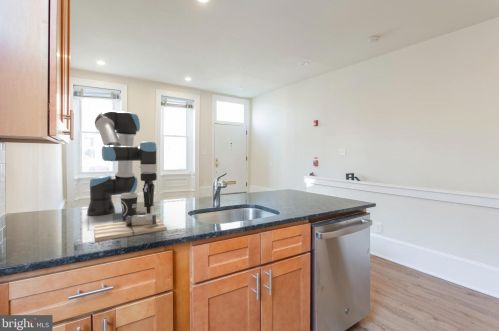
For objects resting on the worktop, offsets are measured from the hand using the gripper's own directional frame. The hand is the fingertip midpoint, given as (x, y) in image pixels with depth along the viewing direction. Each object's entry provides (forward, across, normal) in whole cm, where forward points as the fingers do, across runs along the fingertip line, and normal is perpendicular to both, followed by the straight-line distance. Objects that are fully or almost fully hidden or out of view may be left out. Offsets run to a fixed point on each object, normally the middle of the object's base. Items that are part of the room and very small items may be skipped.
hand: (149, 219), depth 123 cm
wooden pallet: (+5, +1, -9) cm, 10 cm away
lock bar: (+3, -2, -4) cm, 6 cm away
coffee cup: (+5, -19, -16) cm, 25 cm away
